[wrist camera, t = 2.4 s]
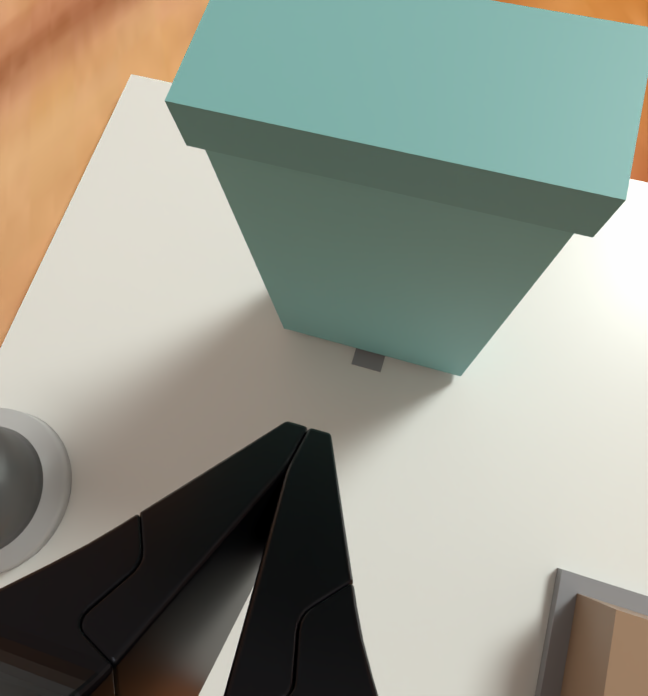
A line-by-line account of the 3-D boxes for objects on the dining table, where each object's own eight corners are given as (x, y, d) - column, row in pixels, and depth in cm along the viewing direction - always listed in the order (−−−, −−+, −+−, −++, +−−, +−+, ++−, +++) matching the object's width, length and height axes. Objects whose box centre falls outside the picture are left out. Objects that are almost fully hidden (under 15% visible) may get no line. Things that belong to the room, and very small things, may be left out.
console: (776, 909, 14) (915, 1045, 10) (-106, 571, 18) (-220, 588, 14) (822, 234, 19) (925, 174, 15) (126, 86, 23) (83, 11, 19)
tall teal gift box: (466, 382, 17) (625, 199, 7) (276, 331, 18) (165, 100, 8) (484, 303, 18) (655, 28, 7) (301, 257, 19) (229, -44, 8)
